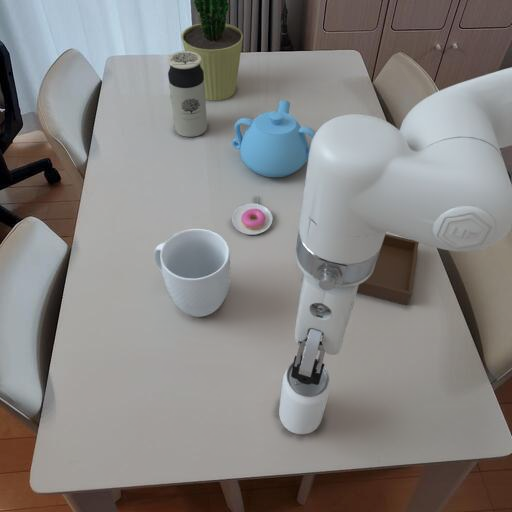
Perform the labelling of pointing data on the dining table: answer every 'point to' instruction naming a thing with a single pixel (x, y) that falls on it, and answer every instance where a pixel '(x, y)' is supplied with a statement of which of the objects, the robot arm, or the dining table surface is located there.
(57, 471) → the dining table surface
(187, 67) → the travel mug
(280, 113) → the teapot
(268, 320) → the dining table surface
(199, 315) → the mug
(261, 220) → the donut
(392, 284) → the tray
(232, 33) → the potted cactus
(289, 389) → the can
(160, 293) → the dining table surface
